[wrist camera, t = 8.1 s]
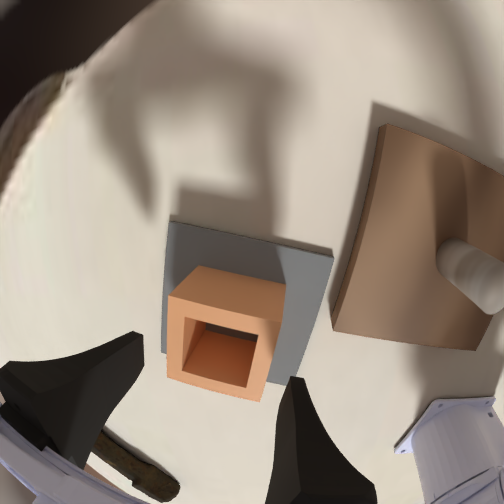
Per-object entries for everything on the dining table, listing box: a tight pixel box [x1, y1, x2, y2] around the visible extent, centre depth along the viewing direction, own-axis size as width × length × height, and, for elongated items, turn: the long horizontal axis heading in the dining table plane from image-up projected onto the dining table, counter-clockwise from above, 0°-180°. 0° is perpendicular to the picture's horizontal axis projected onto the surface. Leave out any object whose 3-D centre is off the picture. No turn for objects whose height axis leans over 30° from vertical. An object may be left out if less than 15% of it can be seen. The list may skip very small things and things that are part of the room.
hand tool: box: [91, 432, 180, 503], centre depth 25 cm, size 19×4×5 cm, turn 45°
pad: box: [161, 221, 334, 386], centre depth 18 cm, size 10×10×1 cm
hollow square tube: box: [167, 265, 286, 402], centre depth 15 cm, size 5×5×4 cm
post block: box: [331, 124, 504, 351], centre depth 12 cm, size 12×12×6 cm
